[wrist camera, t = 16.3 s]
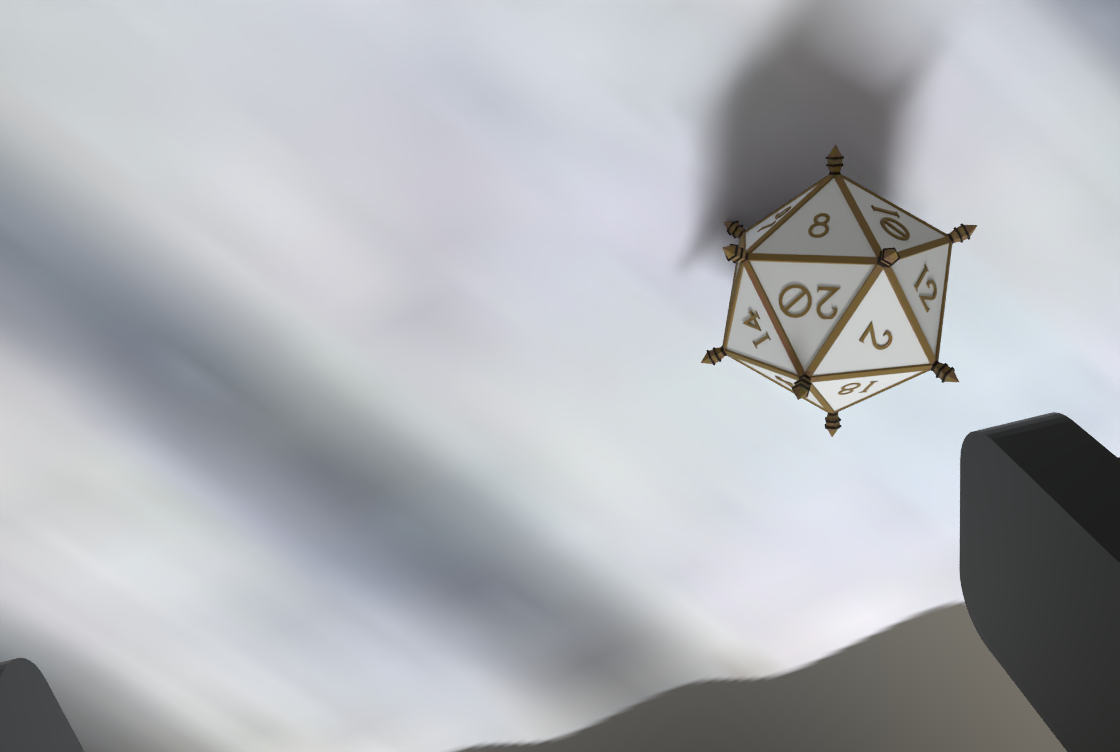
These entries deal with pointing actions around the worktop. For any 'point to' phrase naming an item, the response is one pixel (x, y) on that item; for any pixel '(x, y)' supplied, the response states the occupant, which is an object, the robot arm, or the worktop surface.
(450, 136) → the worktop surface
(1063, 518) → the robot arm
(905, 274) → the game die
